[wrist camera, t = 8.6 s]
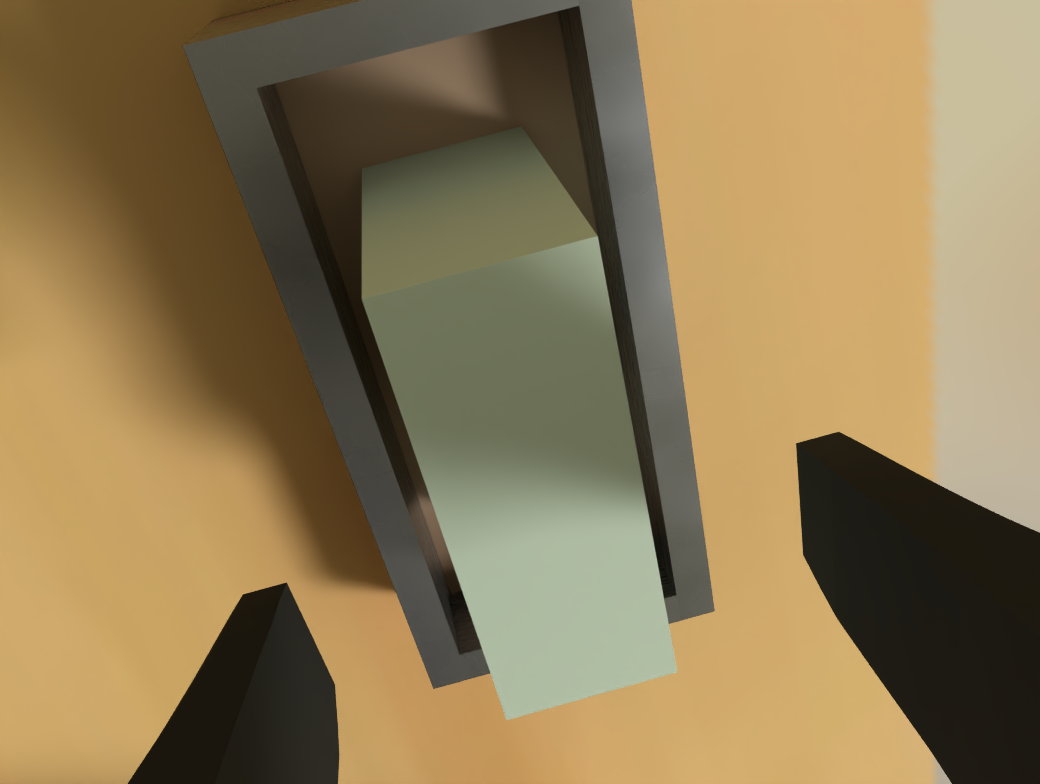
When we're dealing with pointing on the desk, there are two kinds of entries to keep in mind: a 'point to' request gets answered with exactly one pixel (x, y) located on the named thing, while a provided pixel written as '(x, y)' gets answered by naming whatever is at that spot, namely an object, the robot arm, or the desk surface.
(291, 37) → the grey rectangular tray
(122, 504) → the desk surface
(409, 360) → the pale green rectangular block
